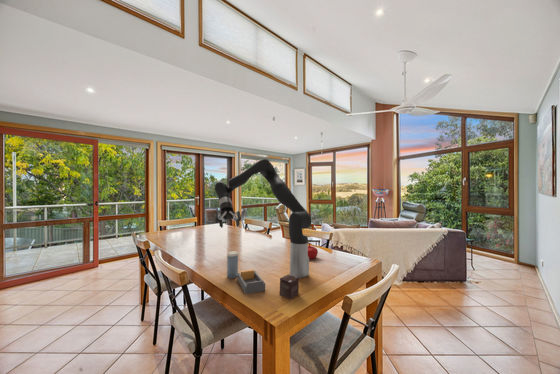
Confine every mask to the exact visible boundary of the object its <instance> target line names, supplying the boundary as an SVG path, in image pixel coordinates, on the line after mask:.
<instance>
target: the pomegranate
mask: <svg viewBox="0 0 560 374" xmlns="http://www.w3.org/2000/svg"><path fill="white" fill-rule="evenodd" d="M318 251H319V250H318V248H317V247H316V246H315V245H311V243H308V257H309V260H314V259H317V257H318V254H319V252H318Z"/></svg>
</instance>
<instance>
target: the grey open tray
mask: <svg viewBox="0 0 560 374" xmlns="http://www.w3.org/2000/svg"><path fill="white" fill-rule="evenodd" d="M236 279H237V282H238V284H239V286H240V287H241V289H242V291H243V293H244V294H245V295H249V294H253V293H260V292H265V291H266V282H265V281H264V279H262V277H261V276H260V274H259V273H257V271H256V270H254V278H253V279H246V280H243V278H242V277H241V272H238V277H236Z"/></svg>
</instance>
